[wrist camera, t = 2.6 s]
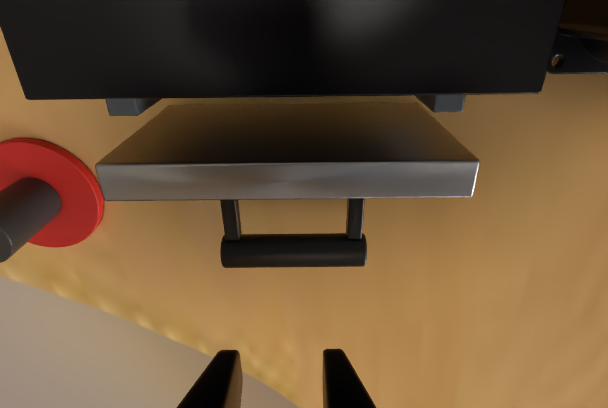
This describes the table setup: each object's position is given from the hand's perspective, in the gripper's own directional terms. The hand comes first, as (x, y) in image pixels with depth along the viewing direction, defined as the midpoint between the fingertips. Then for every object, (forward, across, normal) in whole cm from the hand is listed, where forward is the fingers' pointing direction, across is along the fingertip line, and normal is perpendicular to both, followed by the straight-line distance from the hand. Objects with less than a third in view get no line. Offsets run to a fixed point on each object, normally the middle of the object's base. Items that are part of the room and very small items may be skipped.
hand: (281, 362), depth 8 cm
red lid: (+12, +13, +2) cm, 18 cm away
